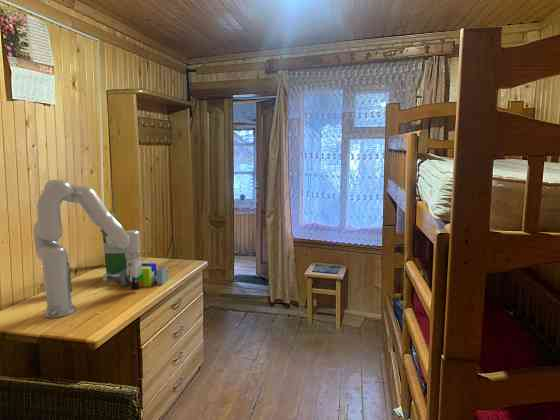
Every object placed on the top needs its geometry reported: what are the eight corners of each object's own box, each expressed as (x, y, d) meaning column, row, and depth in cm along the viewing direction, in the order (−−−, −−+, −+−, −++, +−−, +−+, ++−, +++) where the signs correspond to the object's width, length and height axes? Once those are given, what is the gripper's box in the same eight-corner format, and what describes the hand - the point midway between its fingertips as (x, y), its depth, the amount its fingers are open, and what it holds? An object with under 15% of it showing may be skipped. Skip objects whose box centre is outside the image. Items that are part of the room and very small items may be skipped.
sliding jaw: (125, 285, 207) (124, 271, 206) (102, 286, 206) (101, 272, 205) (131, 280, 216) (130, 266, 215) (109, 281, 215) (108, 267, 214)
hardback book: (141, 274, 227) (138, 235, 223) (136, 278, 219) (132, 237, 216) (113, 274, 228) (110, 235, 225) (106, 278, 221) (103, 237, 218)
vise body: (162, 284, 207) (161, 270, 206) (106, 286, 207) (105, 272, 205) (168, 278, 219) (167, 264, 218) (115, 280, 218) (114, 266, 217)
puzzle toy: (157, 280, 216) (155, 263, 214) (150, 286, 206) (148, 268, 204) (139, 280, 216) (138, 263, 215) (132, 286, 206) (130, 268, 205)
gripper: (135, 258, 188) (137, 294, 190) (145, 251, 202) (147, 284, 205) (120, 258, 187) (122, 294, 190) (130, 251, 202) (133, 284, 205)
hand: (135, 289), depth 197 cm, fingers closed
